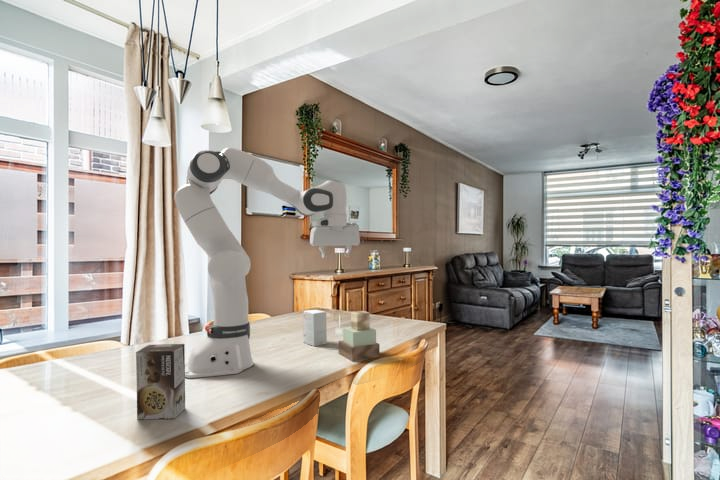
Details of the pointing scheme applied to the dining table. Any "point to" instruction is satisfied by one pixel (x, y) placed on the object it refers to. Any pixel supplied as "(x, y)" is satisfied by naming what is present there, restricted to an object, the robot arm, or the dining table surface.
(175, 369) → the coffee box
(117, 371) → the dining table surface
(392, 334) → the dining table surface
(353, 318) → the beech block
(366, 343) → the sage block
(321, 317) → the small box
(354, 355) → the walnut block
